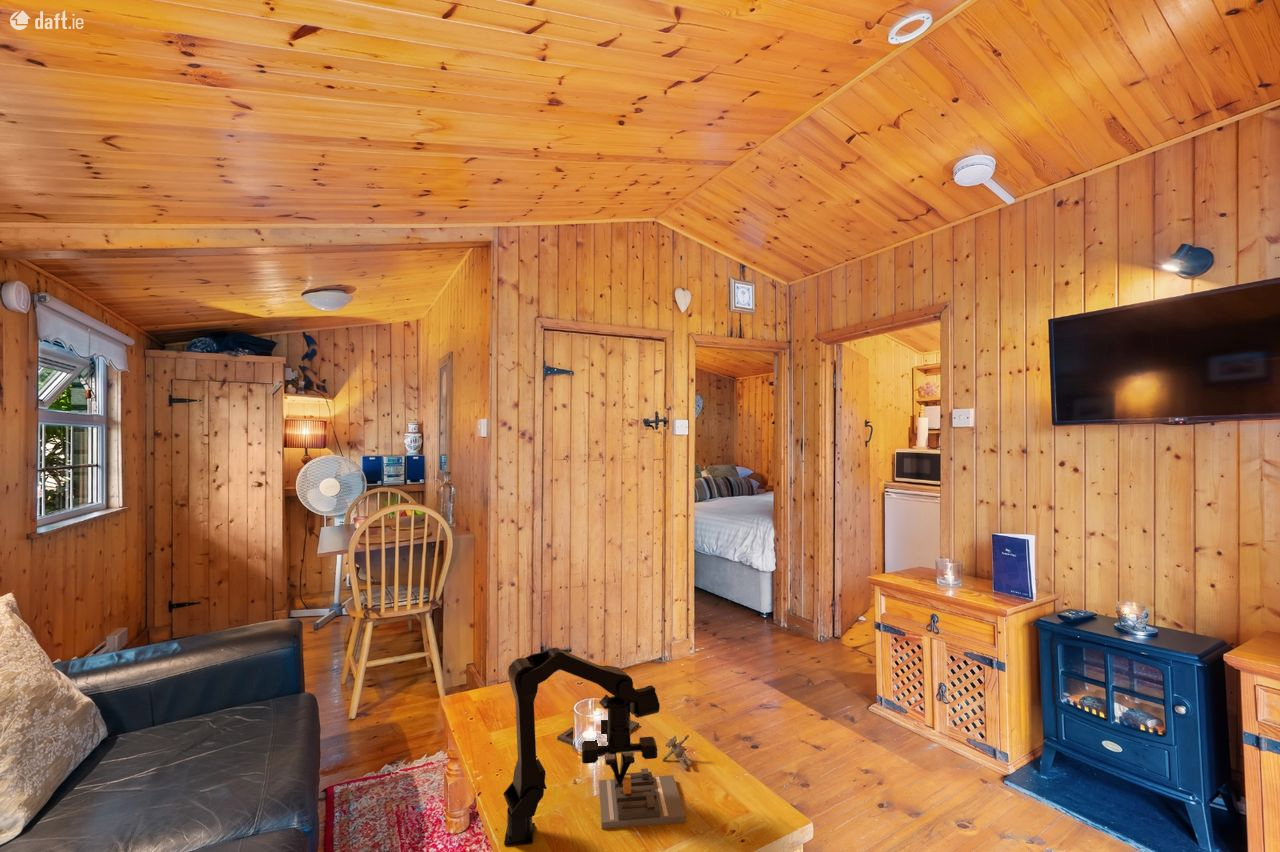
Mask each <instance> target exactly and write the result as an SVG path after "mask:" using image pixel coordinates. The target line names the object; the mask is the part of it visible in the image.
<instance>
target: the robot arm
mask: <svg viewBox="0 0 1280 852" xmlns="http://www.w3.org/2000/svg"><path fill="white" fill-rule="evenodd" d="M558 671H564V672H565V673H568V674H571V675H573V676H576V677H578V678H581V679H584V680H586V681H589V682H591V683H594V684H596V685H598V686H599V687H601V688H602V689H604V690H605V691H607V693H609V694H610V695H612V696H609V695H608V694H605V695H604V697H602V698H601V699H600V700H599V705H600V706H601V707H602V708H603V709H604V710H607V712H608V720H601V734H607V742H608V745H607V746H598V743H597V740H595V741H584V742H583V743H582V749H581V761H582V762H581V763H582V764H595V763H597V761H599V756H601V755H604V762H605V765H606V766H610V769H611V770H612V772H613V775H614V774H615V777H616V780H617V783H618V785H621V784H622V781H623V779H624V776H625V774H626V773H627V771H628V769H629V767H630V765H631V764H635V761H636V760H635V753H641V757H643V759H644V760H653V759H654V760H655V759H657V758H658V747H657V743H656V738H655V737H654V736H642V737H639V741H638V743H637V742H636V743H633V742H631V732H630V720H631V715H633V716H634V717H635V718H637V719H638V718H639V719H640V718H643V717H646V716H651V715H655V714H658V713H659V712H660V707H661V706H660V705H661V704H660V701H659V698H658V695H657V693H656V687H654V686H653V685H647V686H644V687H640V688H635V687H634V682H633V678H632V677H631V676H630V675H628V673H627V672H625V671H624V670H623V669H622V668H620V667H618V666H614V665H613V666H612V665H599V664H597V663H593V662H591V661H589V660H587V659H585V658H582V657H579V656H576V655H574V654H571V653H569V652H566V651H564V650H562V649H560V648H559V647H552V648H549V649H547V650H546V651H543V652H537V653H532V654H530V655H528V656H526V657H519V658H517V659H515V660H514V661H512V663H510V665H509V666H508V670H507V674H508V678H509V684H510V687H511V690H512V695H513V697H514V700H515V718H516V719H515V722H516V744H517V745H516V746H517V749H516V750H517V761H516V763H515V767H514V769H513V777H512V778H513V780H512V782H511V783H510V785H509V786H508V787H507V788H506V790H505V791H504V792H503V797H504V799H505V802H506V804H507V806H508V807H507V809H506V811H507V815H506V816H507V817H506V819H507V821H506V822H507V823H506V831H505V836H504V841H503V844H504V846H515V845H516V846H517V845H528V844H532V843H534V839H535V828H536V823H535V822H533V817H535V814H536V811H537V809H538V805H539V802H540V801H541V800H542V799H543V797H544V795H545V790H547V786H546V770H545V768H544V766H543V765H542V763H541V760H540V758H537V748H536V747H537V746H536V742H537V741H536V721H535V719H536V718H535V699H536V697H537V693H538V690H539V684H541V683H543V682H545V681H546V680H548V679H549V678H550V677H551V676H552V675H553V674H555V673H556V672H558ZM618 754H620V763H619V765H618V757H617V755H618Z"/></svg>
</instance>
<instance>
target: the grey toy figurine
mask: <svg viewBox="0 0 1280 852" xmlns="http://www.w3.org/2000/svg"><path fill="white" fill-rule="evenodd" d="M689 737H690V735H689V734H687V735H686V736H684V738H683V739H682V740H680V741H679V742H677V740H678V739H677V735H674V736H673V737H672V738H670V739H669V740H668V741H667V743H666V744H665V747H667V748H668V749H670V748H671V749H670V750H669V752H668V753H667V754H666V756H663V759H662V761H663V762H665V761H666V760H667V759H668V758H670V756H671V755H674V757H675V758H676V759H677V760H678V761H679V762H680V765H681V766H682V768H683V769H684V771H686V770H688V769H689V768H688V766H692V761H691V760H690V759H689V756H687V754H686V752H685V749H684V747H682V745H683V744H684V743H685V741H686V740H688V738H689ZM676 742H677V743H676ZM664 760H665V761H664ZM684 760H685V761H684ZM686 763H687V764H686ZM687 765H688V766H687Z"/></svg>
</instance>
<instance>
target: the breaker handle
mask: <svg viewBox="0 0 1280 852" xmlns="http://www.w3.org/2000/svg"><path fill="white" fill-rule="evenodd" d="M623 790H624V794H631V777H630V775H625V776H624V779H623Z"/></svg>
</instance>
